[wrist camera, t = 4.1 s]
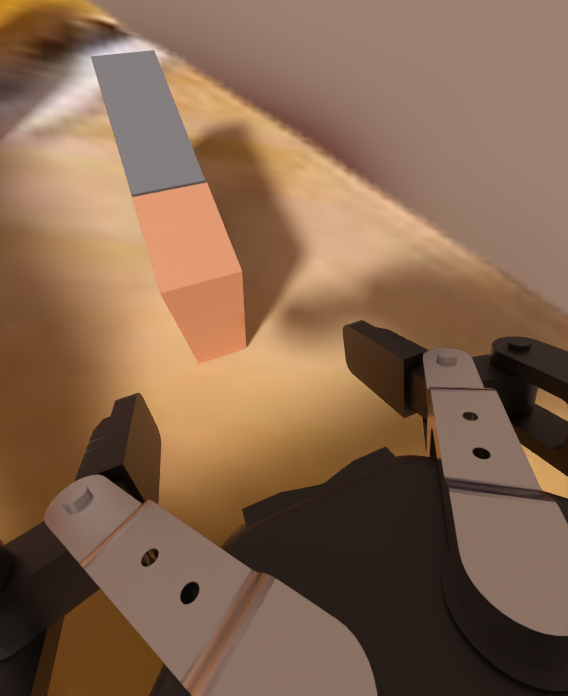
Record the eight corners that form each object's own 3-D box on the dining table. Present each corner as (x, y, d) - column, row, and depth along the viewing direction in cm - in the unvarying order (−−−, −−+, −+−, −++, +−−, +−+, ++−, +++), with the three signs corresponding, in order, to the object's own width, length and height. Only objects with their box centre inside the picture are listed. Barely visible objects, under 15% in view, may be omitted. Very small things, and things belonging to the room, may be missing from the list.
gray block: (224, 288, 27) (207, 184, 17) (178, 300, 26) (131, 199, 16) (187, 187, 31) (154, 50, 20) (145, 195, 30) (90, 56, 20)
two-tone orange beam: (246, 347, 25) (243, 271, 15) (198, 363, 24) (158, 293, 14) (224, 287, 27) (208, 182, 17) (178, 300, 26) (130, 197, 16)
